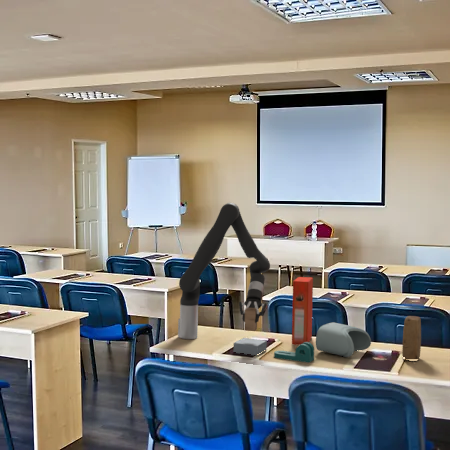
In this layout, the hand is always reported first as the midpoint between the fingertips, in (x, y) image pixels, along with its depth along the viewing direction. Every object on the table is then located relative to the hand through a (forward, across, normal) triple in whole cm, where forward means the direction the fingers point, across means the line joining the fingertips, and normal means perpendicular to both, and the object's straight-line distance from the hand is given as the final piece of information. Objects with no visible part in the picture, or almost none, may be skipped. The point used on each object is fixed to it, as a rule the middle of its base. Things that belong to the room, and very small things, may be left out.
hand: (250, 321), depth 306 cm
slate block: (+9, 0, +12) cm, 15 cm away
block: (+3, +74, +19) cm, 77 cm away
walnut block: (+2, 0, +4) cm, 5 cm away
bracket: (+14, +21, +8) cm, 26 cm away
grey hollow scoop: (+2, +43, +20) cm, 48 cm away
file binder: (-12, +21, +33) cm, 41 cm away
